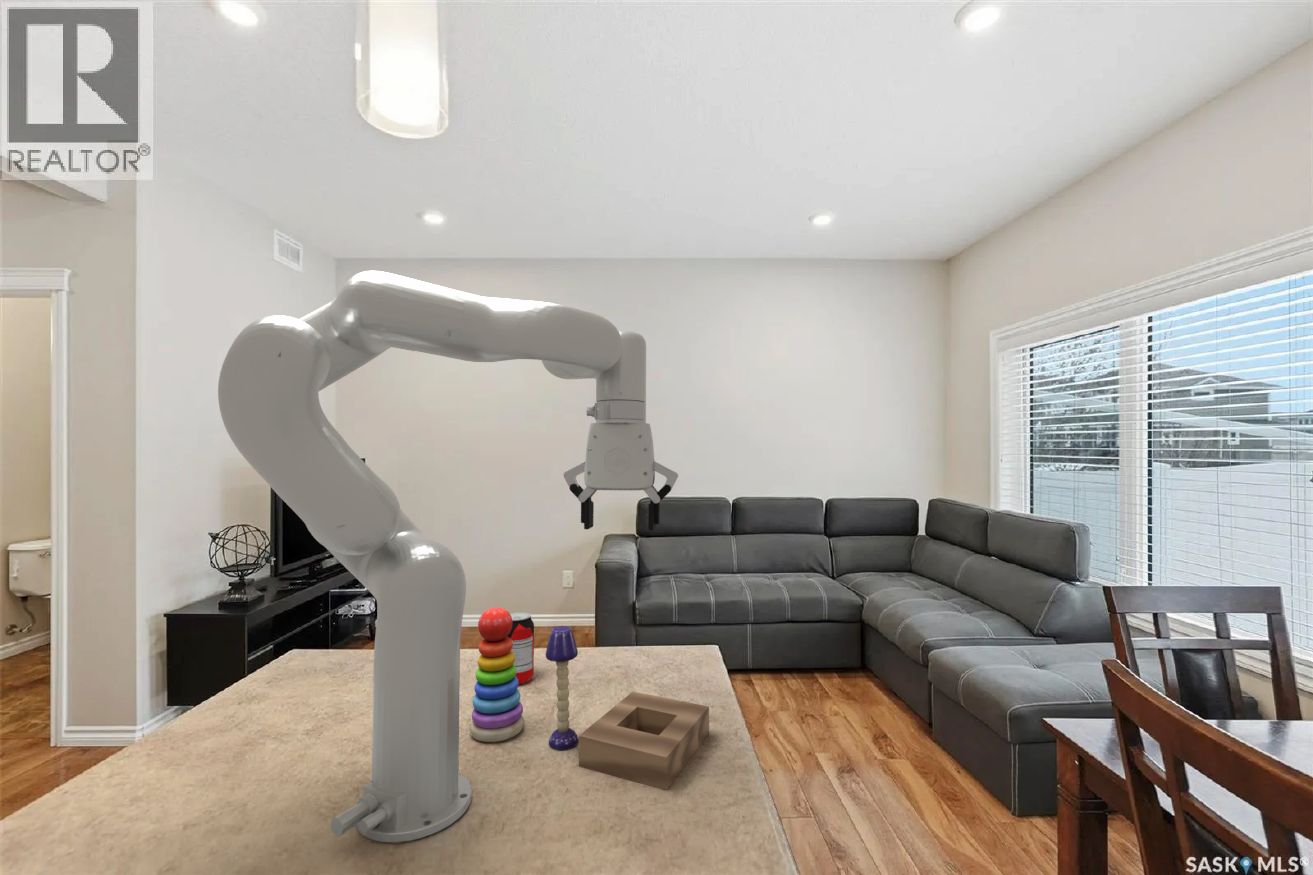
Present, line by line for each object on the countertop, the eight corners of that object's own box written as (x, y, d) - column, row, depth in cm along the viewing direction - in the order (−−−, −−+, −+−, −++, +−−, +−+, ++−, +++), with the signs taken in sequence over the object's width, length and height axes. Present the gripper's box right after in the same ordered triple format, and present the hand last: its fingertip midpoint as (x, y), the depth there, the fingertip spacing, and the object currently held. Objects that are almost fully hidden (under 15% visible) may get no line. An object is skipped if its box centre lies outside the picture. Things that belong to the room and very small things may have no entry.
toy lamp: (570, 753, 79) (571, 634, 80) (539, 750, 80) (540, 632, 81) (582, 737, 84) (582, 624, 85) (552, 734, 85) (553, 622, 86)
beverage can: (532, 672, 109) (533, 610, 110) (534, 685, 103) (535, 619, 104) (498, 676, 108) (499, 612, 108) (498, 689, 102) (499, 621, 102)
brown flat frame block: (666, 789, 71) (666, 757, 71) (578, 766, 76) (578, 735, 76) (709, 733, 85) (708, 706, 85) (632, 716, 91) (632, 691, 91)
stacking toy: (490, 716, 91) (492, 599, 92) (534, 724, 88) (534, 603, 89) (458, 739, 83) (459, 611, 84) (504, 748, 81) (505, 616, 81)
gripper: (558, 413, 82) (556, 531, 82) (676, 412, 80) (675, 533, 80) (571, 416, 90) (570, 525, 89) (680, 416, 88) (679, 527, 87)
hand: (620, 528), depth 84 cm, fingers open, 9 cm apart
